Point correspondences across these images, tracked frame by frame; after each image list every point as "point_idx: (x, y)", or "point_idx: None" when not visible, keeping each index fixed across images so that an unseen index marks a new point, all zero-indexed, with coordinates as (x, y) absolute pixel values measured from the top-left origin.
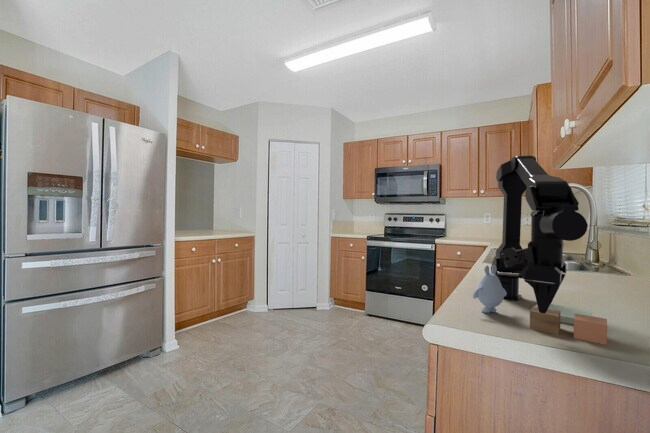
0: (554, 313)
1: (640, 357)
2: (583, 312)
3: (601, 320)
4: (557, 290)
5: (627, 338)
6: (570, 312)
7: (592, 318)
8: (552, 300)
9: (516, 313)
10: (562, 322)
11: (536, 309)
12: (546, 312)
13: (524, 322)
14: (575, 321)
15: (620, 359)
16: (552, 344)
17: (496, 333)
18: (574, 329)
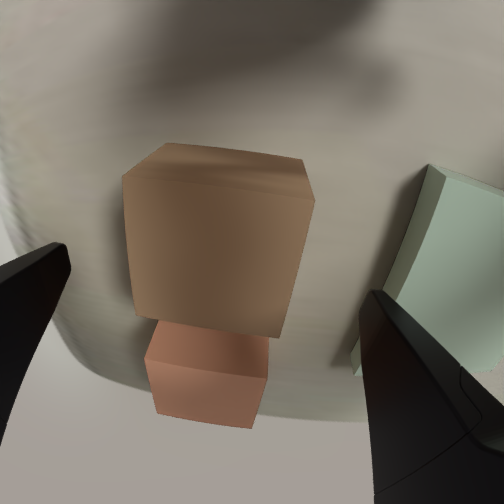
0: (180, 306)
1: (136, 385)
2: (466, 360)
3: (212, 417)
4: (370, 435)
5: (287, 402)
6: (460, 331)
7: (218, 405)
8: (361, 347)
9: (455, 90)
10: (383, 287)
11: (210, 217)
12: (166, 271)
13: (276, 113)
14: (147, 354)
15: (83, 351)
16: (40, 229)
17: (9, 49)
18: (157, 324)
